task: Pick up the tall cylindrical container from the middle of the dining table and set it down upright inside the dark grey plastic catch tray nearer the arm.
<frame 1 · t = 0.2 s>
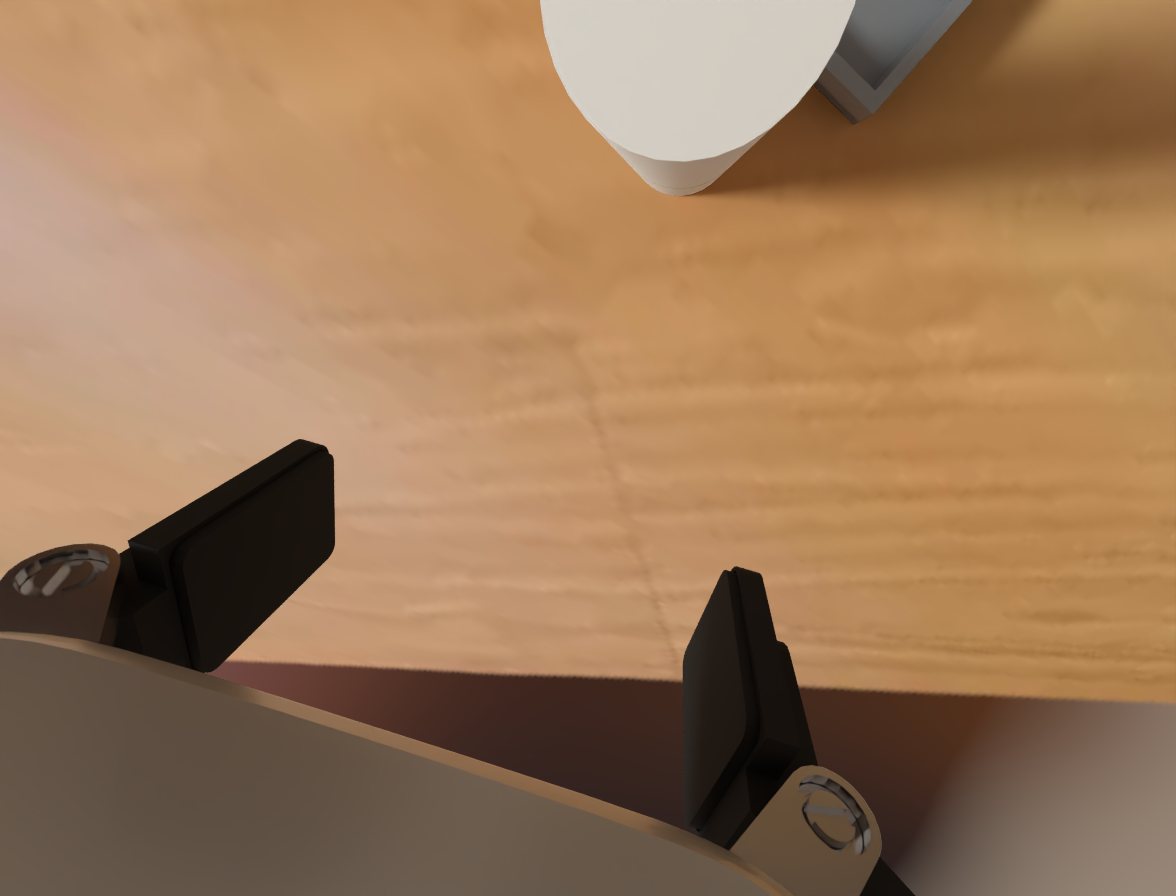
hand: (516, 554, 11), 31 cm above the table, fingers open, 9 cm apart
cylindrical container: (683, 137, 33), on the table
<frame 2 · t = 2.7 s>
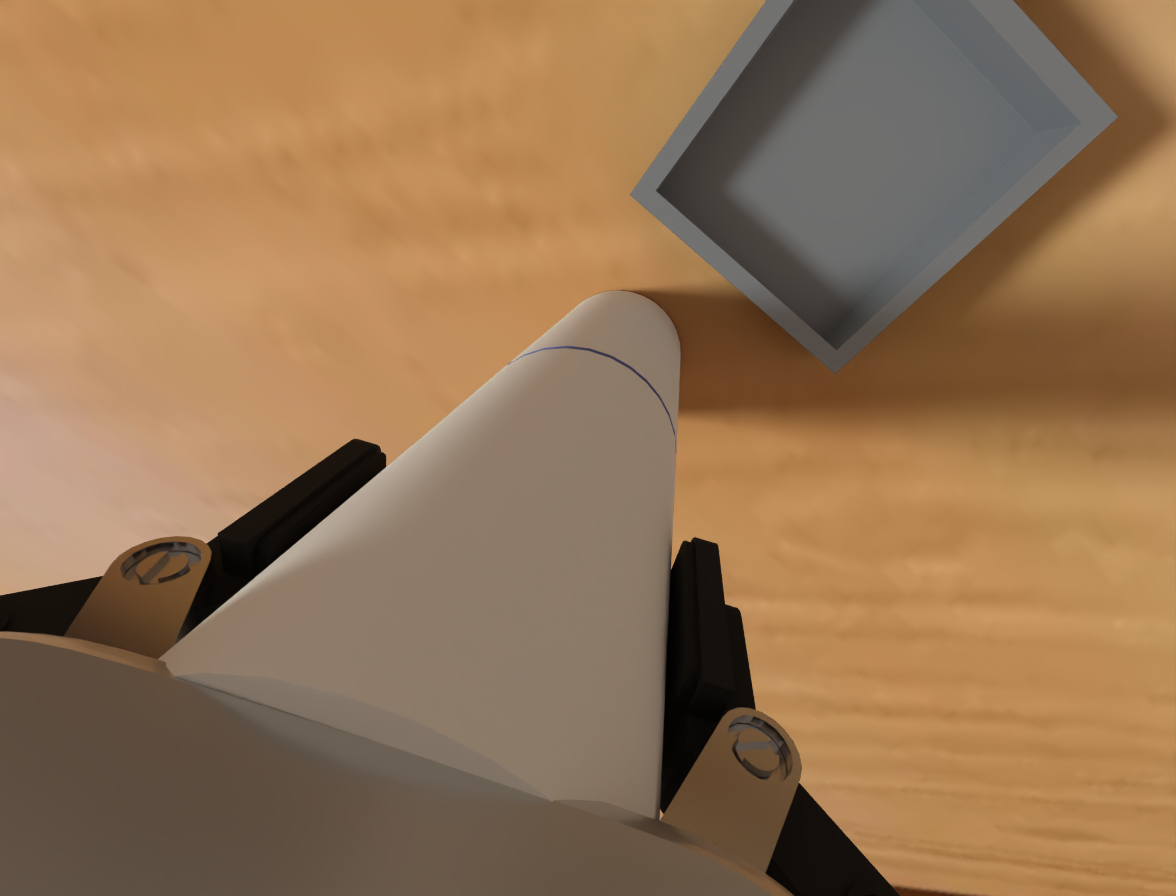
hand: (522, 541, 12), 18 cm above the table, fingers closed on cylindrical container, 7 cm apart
catch tray: (827, 166, 23), on the table
cylindrical container: (618, 354, 28), on the table, touching gripper
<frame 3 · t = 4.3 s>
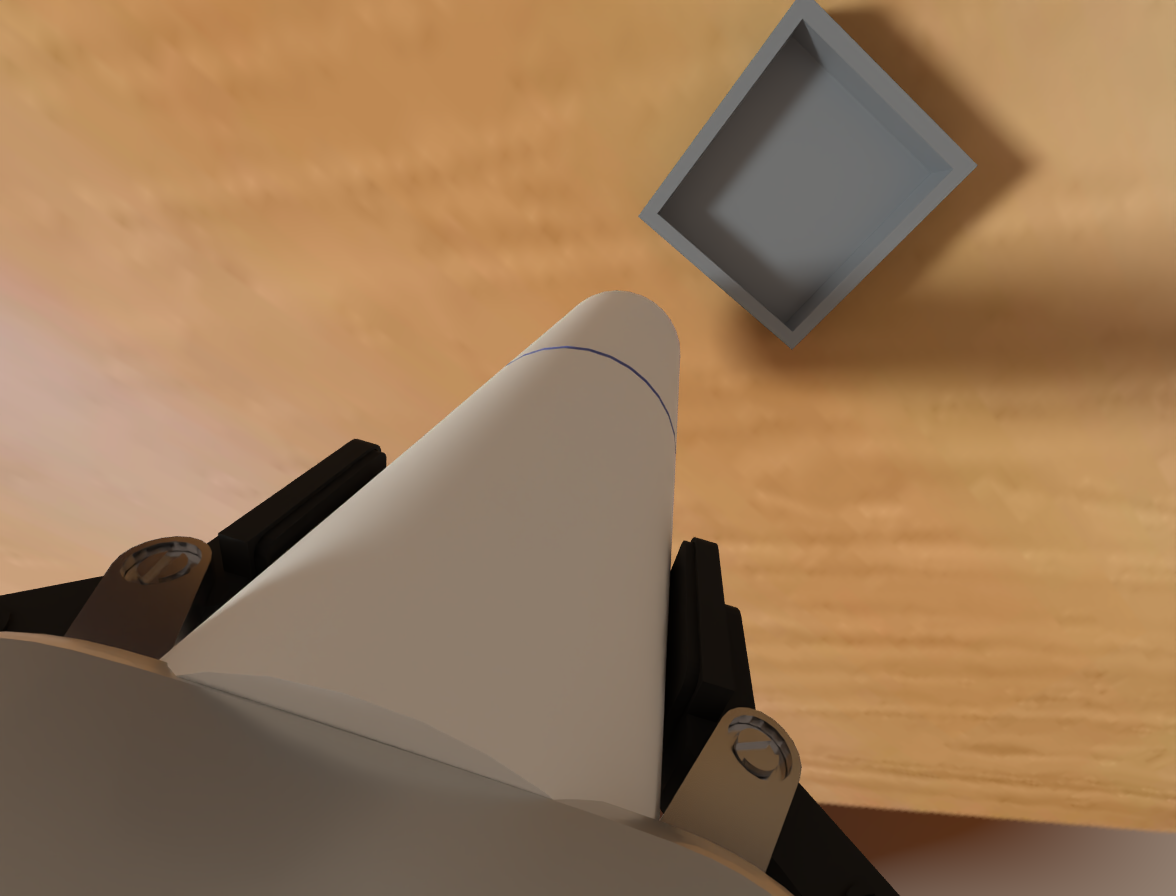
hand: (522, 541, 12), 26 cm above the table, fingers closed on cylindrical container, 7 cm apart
catch tray: (784, 195, 31), on the table
cylindrical container: (617, 354, 28), point 8 cm above the table, touching gripper
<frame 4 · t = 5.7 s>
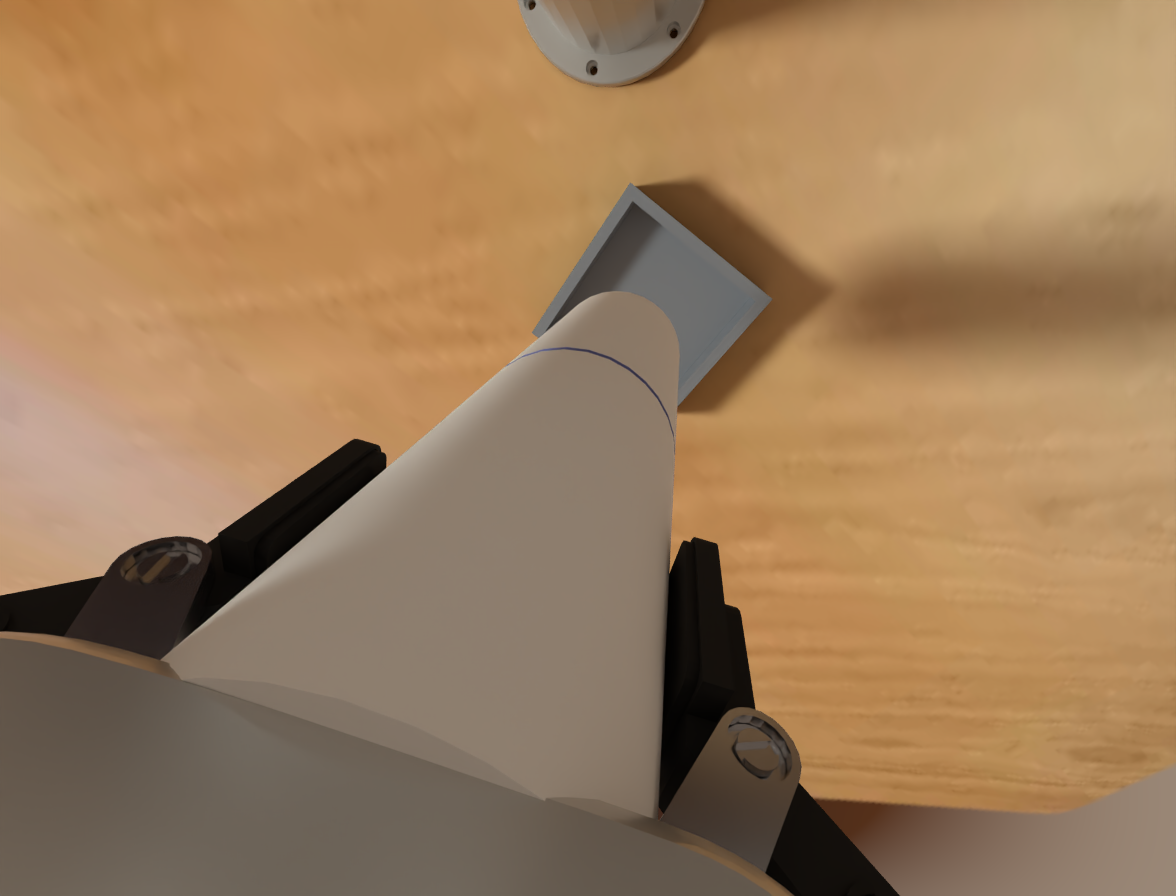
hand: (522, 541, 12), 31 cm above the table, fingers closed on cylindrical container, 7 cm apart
catch tray: (648, 309, 39), on the table
cylindrical container: (616, 354, 28), point 13 cm above the table, touching gripper
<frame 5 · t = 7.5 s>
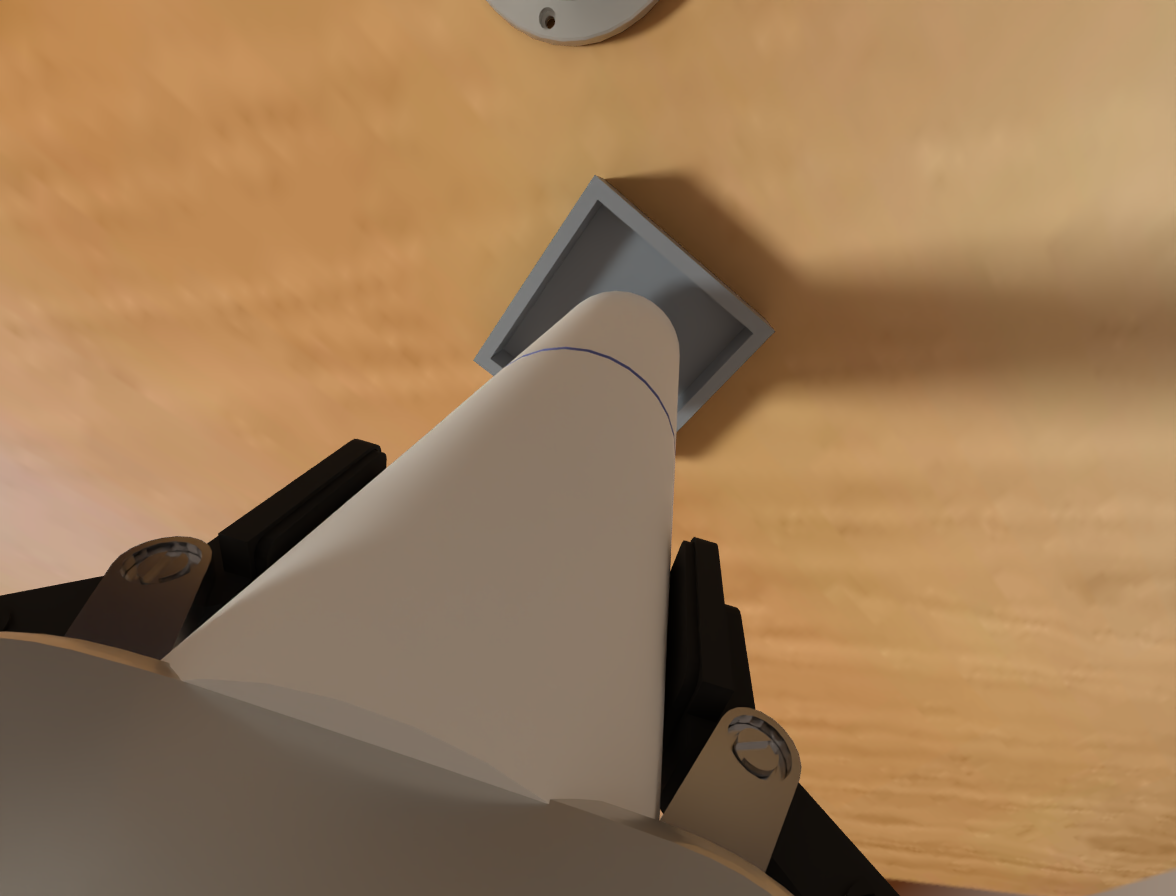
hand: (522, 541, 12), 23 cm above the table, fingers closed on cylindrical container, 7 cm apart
catch tray: (620, 333, 32), on the table
cylindrical container: (616, 354, 28), point 4 cm above the table, touching gripper
when the fingers open (21 cm above the table, at t = 8.9 s): cylindrical container drops 1 cm, resting on catch tray.
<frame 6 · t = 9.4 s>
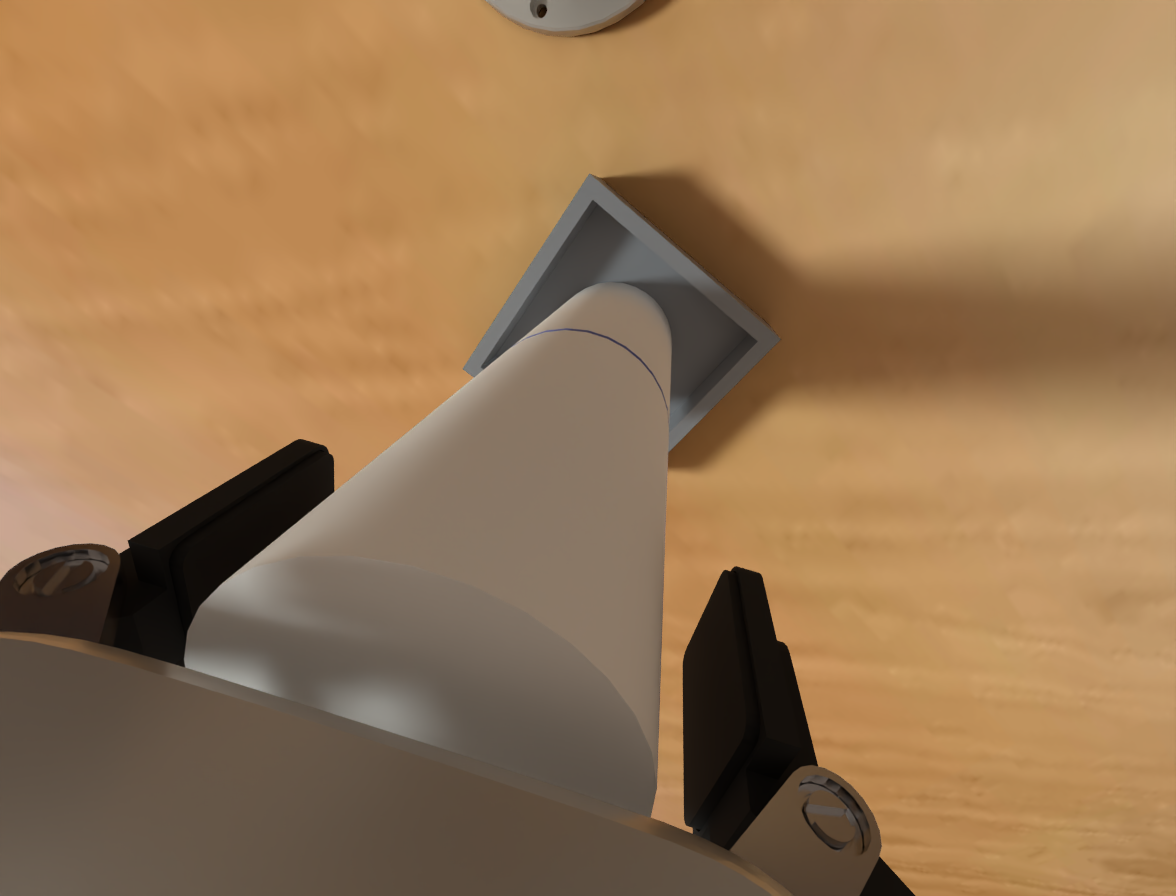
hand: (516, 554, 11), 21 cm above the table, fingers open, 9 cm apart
catch tray: (617, 340, 30), on the table
cylindrical container: (612, 343, 30), point 1 cm above the table, touching catch tray
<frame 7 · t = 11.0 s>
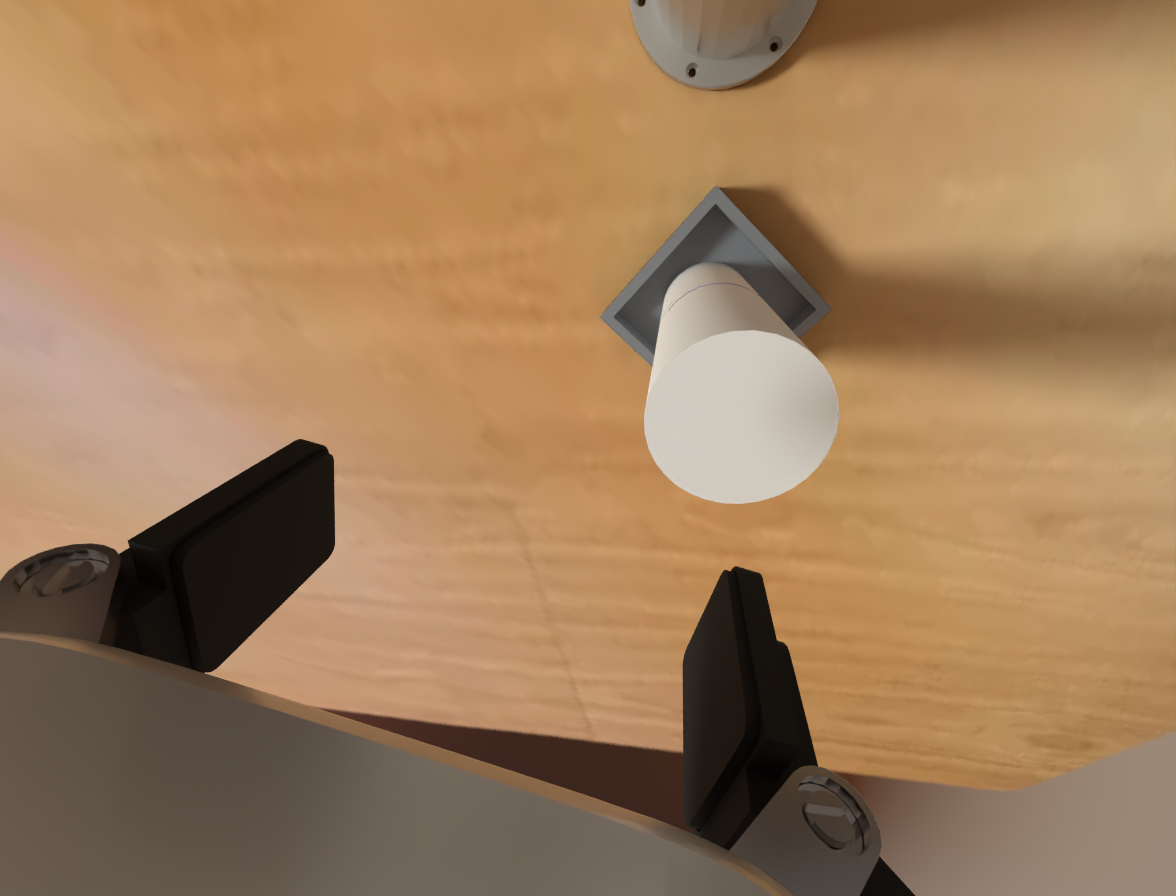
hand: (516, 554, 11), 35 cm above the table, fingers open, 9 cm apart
catch tray: (708, 305, 42), on the table
cylindrical container: (706, 307, 41), point 1 cm above the table, touching catch tray
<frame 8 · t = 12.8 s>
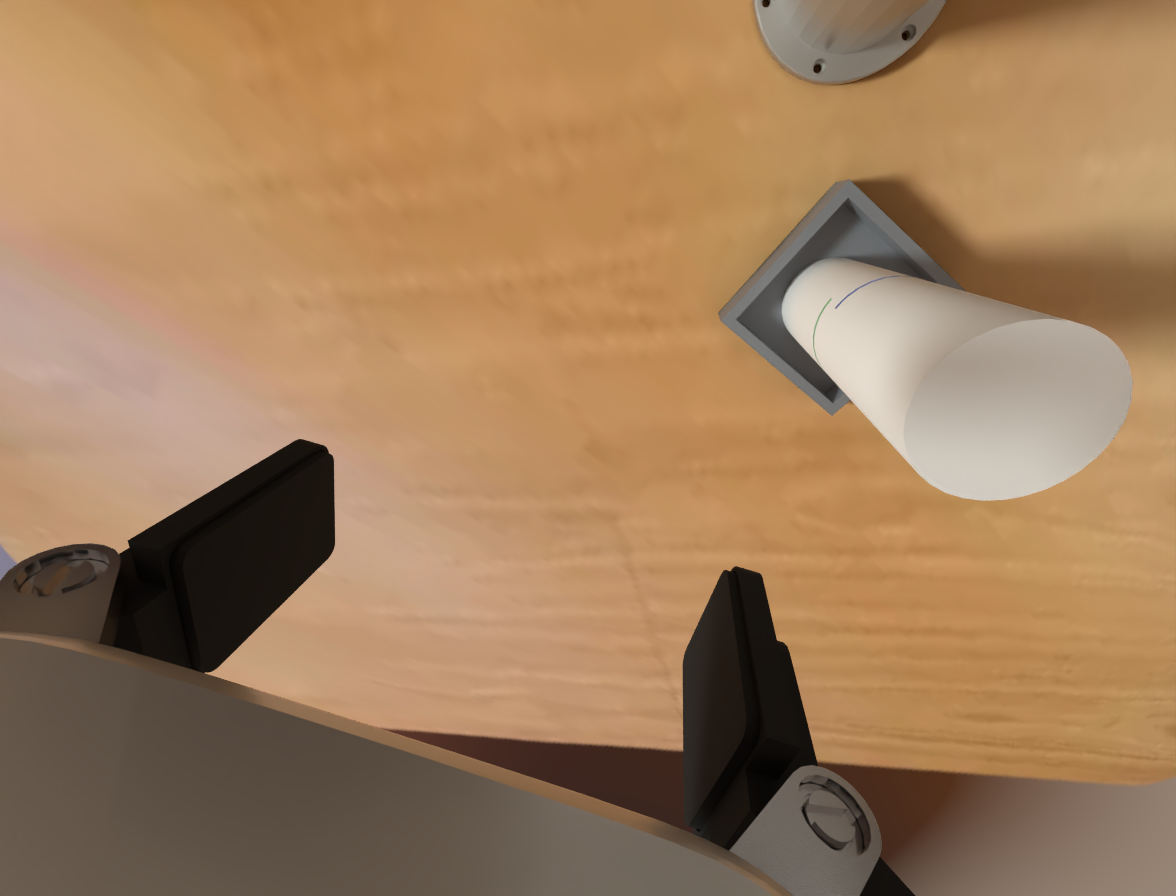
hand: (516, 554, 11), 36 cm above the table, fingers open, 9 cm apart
catch tray: (827, 301, 41), on the table
cylindrical container: (826, 303, 40), point 1 cm above the table, touching catch tray
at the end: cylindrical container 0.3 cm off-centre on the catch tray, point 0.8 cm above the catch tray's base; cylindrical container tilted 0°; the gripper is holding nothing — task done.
